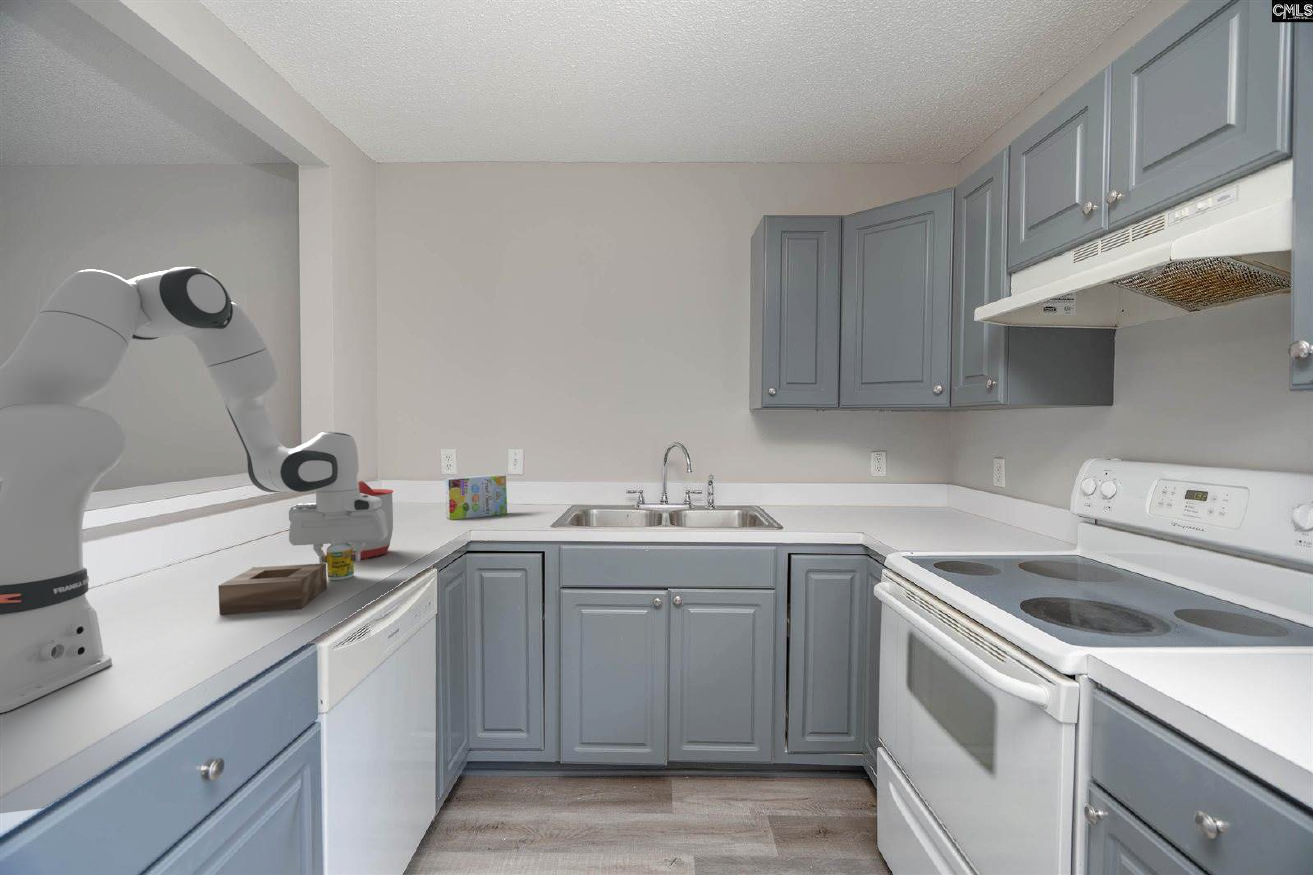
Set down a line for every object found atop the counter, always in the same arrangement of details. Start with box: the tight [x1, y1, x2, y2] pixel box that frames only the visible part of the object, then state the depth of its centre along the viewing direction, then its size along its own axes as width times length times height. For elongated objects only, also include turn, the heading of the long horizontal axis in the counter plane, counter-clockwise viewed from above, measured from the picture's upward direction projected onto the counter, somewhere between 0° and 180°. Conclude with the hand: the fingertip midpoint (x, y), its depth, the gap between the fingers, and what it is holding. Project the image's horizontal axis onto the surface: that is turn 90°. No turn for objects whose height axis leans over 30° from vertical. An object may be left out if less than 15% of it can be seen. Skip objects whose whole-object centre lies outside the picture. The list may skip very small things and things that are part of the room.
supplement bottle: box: [326, 538, 355, 581], centre depth 136 cm, size 5×5×10 cm
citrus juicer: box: [348, 480, 394, 560], centre depth 158 cm, size 16×17×20 cm
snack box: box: [444, 474, 508, 521], centre depth 221 cm, size 21×6×15 cm, turn 121°
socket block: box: [218, 563, 328, 615], centre depth 119 cm, size 14×14×6 cm
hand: (340, 562), depth 136 cm, fingers closed on supplement bottle, 5 cm apart
